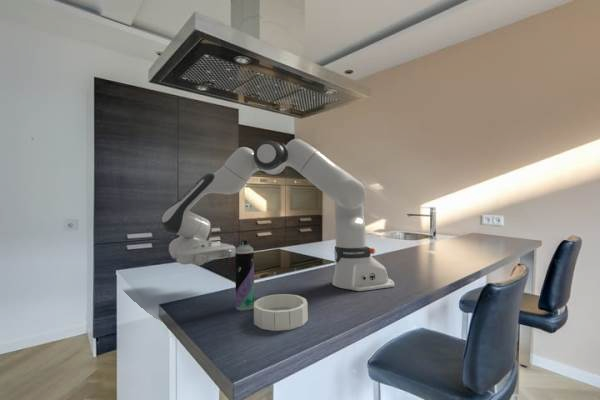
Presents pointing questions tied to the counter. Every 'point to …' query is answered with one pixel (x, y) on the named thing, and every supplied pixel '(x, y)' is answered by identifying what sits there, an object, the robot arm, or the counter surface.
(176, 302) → the counter surface
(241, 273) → the spray can
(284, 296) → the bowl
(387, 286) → the robot arm
